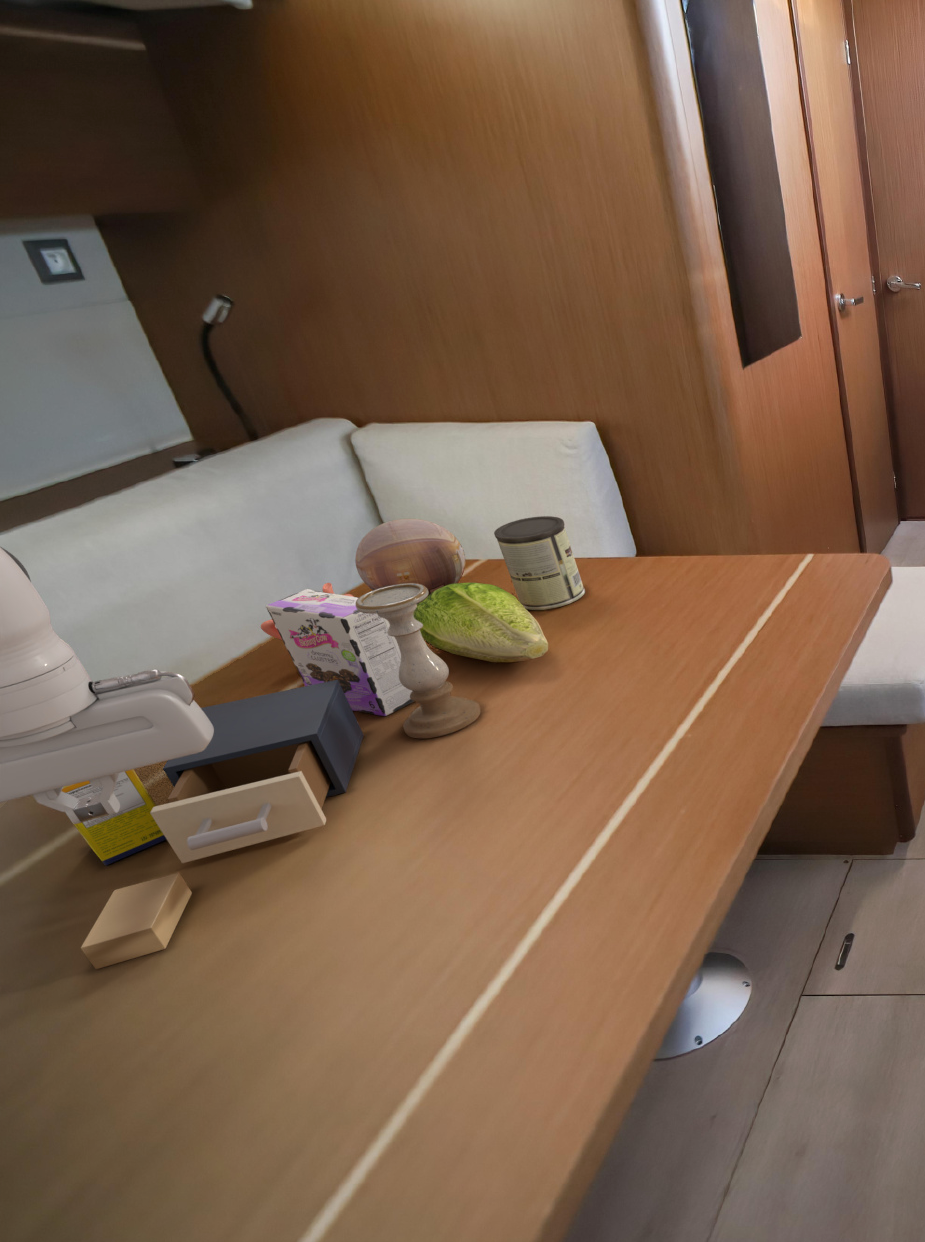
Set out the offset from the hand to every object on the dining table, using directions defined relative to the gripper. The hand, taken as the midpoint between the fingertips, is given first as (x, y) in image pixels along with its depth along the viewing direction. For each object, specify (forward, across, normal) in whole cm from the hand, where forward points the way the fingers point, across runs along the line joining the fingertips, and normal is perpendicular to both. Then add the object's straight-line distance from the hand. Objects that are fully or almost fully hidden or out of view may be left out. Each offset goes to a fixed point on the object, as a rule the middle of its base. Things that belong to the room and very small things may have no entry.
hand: (98, 815), depth 88 cm
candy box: (+14, -15, -41) cm, 46 cm away
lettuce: (+14, -32, -47) cm, 58 cm away
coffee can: (+14, -41, -64) cm, 78 cm away
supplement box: (+14, +5, -18) cm, 24 cm away
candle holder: (+14, -24, -28) cm, 39 cm away
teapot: (+14, -12, -60) cm, 62 cm away
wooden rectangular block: (+14, +1, +1) cm, 14 cm away
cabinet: (+14, -8, -23) cm, 28 cm away
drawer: (+13, -7, -12) cm, 19 cm away
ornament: (+14, -22, -77) cm, 82 cm away
